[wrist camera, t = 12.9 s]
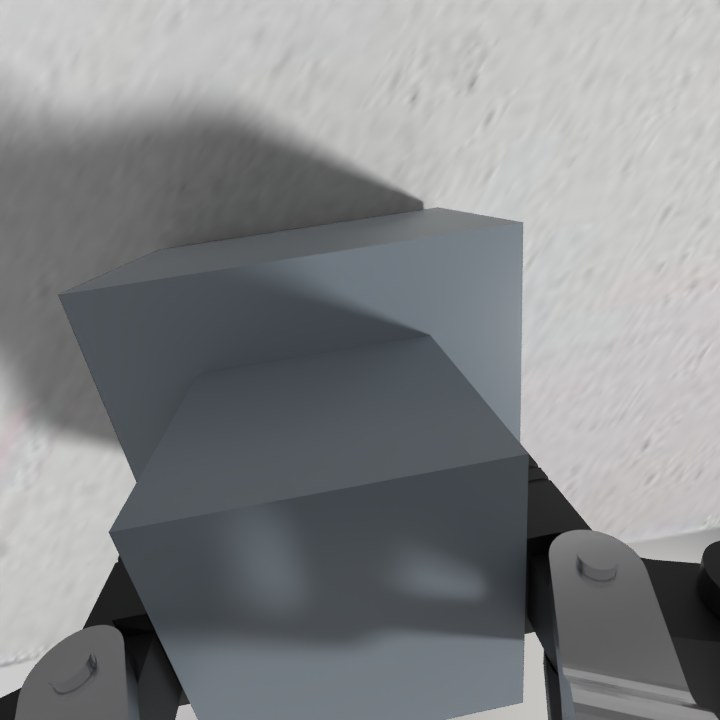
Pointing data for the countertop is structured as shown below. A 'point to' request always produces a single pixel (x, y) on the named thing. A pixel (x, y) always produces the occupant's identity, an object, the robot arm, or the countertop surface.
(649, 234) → the countertop surface
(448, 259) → the gray stepped step block
